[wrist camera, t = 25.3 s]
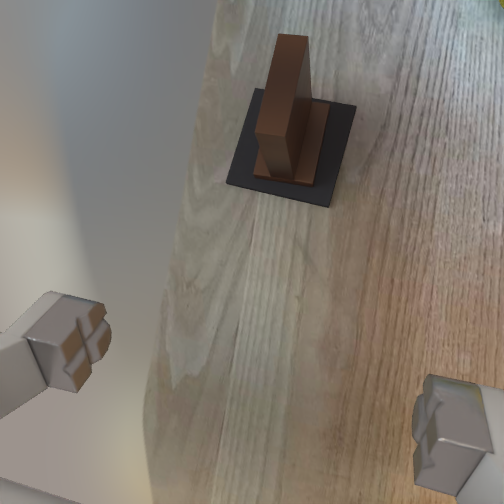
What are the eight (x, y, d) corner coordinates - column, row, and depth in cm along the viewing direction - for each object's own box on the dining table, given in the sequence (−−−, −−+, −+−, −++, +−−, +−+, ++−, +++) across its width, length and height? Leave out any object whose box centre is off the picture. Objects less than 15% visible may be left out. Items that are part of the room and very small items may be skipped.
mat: (328, 207, 34) (328, 206, 34) (226, 184, 36) (225, 182, 36) (356, 108, 35) (356, 105, 35) (255, 90, 37) (255, 87, 37)
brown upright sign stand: (313, 187, 34) (309, 140, 25) (254, 178, 35) (231, 129, 26) (330, 109, 35) (331, 37, 26) (272, 102, 36) (256, 31, 27)
